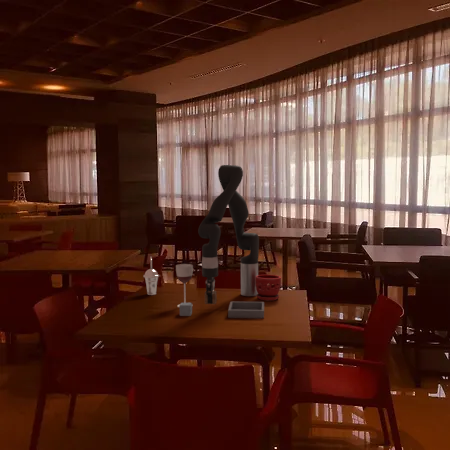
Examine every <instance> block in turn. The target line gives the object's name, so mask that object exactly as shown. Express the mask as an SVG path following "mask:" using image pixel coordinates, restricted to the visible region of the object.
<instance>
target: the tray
mask: <svg viewBox="0 0 450 450" xmlns="http://www.w3.org/2000/svg"><path fill="white" fill-rule="evenodd" d="M227 313H228V314H227V318H228V319H264V318H265V302H264V301H230V302H229V305H228V310H227Z"/></svg>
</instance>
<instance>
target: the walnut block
mask: <svg viewBox="0 0 450 450" xmlns="http://www.w3.org/2000/svg"><path fill="white" fill-rule="evenodd" d="M208 293H211V291H208ZM217 301H218V300H217V290H214V291H213V295H212V303H208V296H207V294H206V291H205V292H204V304H205V305H216V304H217Z"/></svg>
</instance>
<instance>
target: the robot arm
mask: <svg viewBox="0 0 450 450" xmlns="http://www.w3.org/2000/svg"><path fill="white" fill-rule="evenodd" d="M217 175H218V176H217V177H218V180H219V183H220V186H221V188H222V192H221V193H219V194H218V196H216V197H215V199H214V200H213V202H212V203H211V206H210V208H209V211H208V214H206V216H205V217H204V218H203V220H202V221H201V222H200V225H199V226H198V230H197V232H198V235H199V237H200V238H201V239H207V240H208V239H209V241H208V243H204V244H203V245H202V247H201V251H202V253H201V254H202V256H201V274H202V275H201V276H202V277H203V278H206V280H205V290H206V291H205V292H206V294H207V296H208V303H212V295H213V291H215V287H216V286H215V283H216V280H215V278H217V277H218V276H219V259H218V246H219V242H220V238H221V234H222V232H221V231H222V230H221V227H220V226H219V224H218V223H220V222H222V220H223V218H224V215H225V212H226V211H227V209H229V213H230V216H231V220H232V223H233V226H234V227H233V228H234V232H235V237H236V242H237V247H238V249H240V250H242V251H249V254H247V255H245V256H242V257H240V295H241V296H243V297H244V296H245V297H257V294H258V292H257V290H256V281H255V279H256V276H257V275H259V255H260V254H259V251H260V250H259V249H260V237H259V235H258V233H255V232H245V230H244V227H245V223H246V222H247V220H248V217H249V209H248V204H247V202H246V200H245V198H244V197H243V196H242V195H241V194H240V193H239V192H238V191H237V189H238V188H239V186H240V184H241V182H242V180H243V177H244V171H243V168H242V167H241V166H240V165H236V164H235V165H234V164H232V165H230V164H222V165H220V166H219V168H218V169H217ZM227 207H228V208H227ZM208 291H211V293H208Z"/></svg>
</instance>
